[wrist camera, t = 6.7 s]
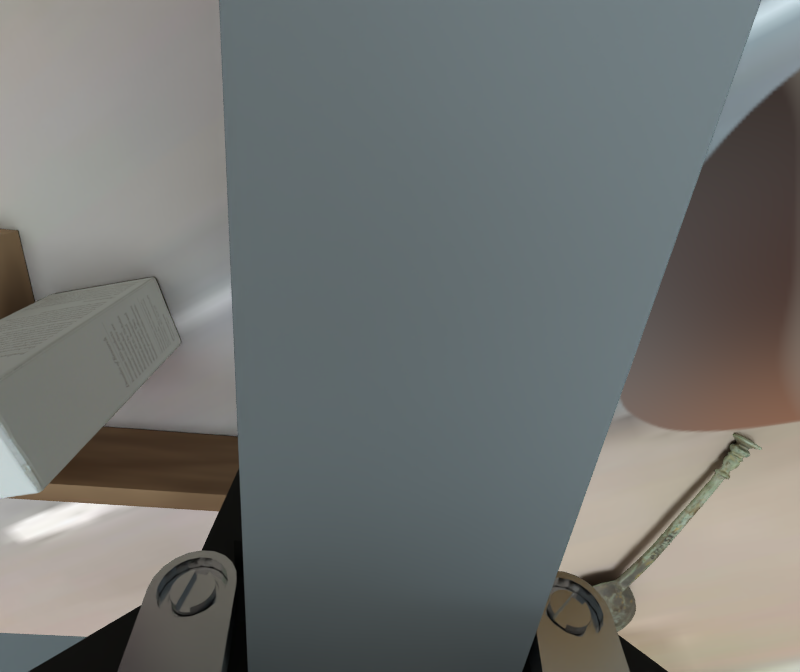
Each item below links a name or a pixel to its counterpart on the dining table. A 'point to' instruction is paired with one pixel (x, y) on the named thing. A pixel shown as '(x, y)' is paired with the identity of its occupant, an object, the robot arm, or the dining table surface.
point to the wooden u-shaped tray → (128, 441)
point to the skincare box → (73, 373)
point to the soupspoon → (666, 539)
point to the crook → (440, 301)
